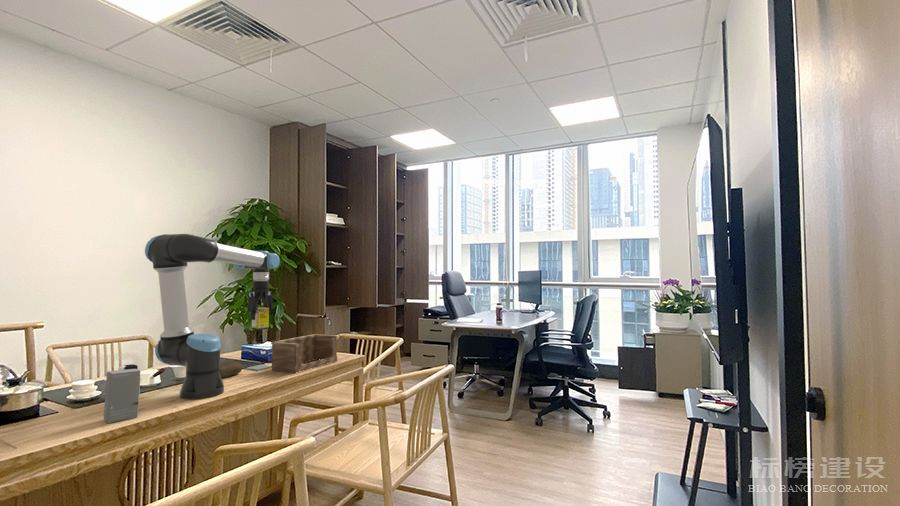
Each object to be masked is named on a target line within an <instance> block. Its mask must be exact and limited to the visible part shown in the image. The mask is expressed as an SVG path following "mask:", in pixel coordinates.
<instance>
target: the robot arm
mask: <svg viewBox="0 0 900 506" xmlns="http://www.w3.org/2000/svg"><path fill="white" fill-rule="evenodd" d="M144 247H145V248H144V255H145V257H146V258H147V260H148V261H149V262H151V263H152V267H153V270H154V271H156V272H157V273H158V281H159V283H158V284H159V290H160V291H159V293H160V301H161V312H162V322H163V332H161V334H160V336H159V337H160V339H159V340H158V342H157V344H156V345H155V348H154V352H155V353H154V354H155V357H156V359H158V361H159V362H160V363H163V364H165V365H169V366H179V367H185V378H184V380H183V383H182V385H181V388H180V390H179V397H180V399H183V400H201V399H206V398H213V397H216V396H218V395H219V396H220V395H221V394H223V393H224V392H225V385H224V382H223V380H222V379H223V378H221V376H220V372H219V370H220V364H221V347H222V346H221V345H222V344H221V339H220V337H219V336H218V335H216V334H211V333H195V332H194V331H195V330H194V329H193V328H191V327H190V325H189V316H188V315H189V314H188V313H189V312H188V304H187V293H186V283H185V281H186V280H185V274H184V273H185V269H186V268H188V263H198V262H199V263H201V262H202V263H212V262H220V263H226V264H232V265H233V267H234V268H236V269H238V270H252V272H253V273H252V280H253V281H252V288H253V290H252V291H251V292H248V293H247V296H248V301H247V313H249V314H250V320H251V327H252V326H257V313H256V310H257V308H258V307H259V304H260V303H259V302H260V301H262V304H263V308H269V313H271V312H272V311H273V310H274V303H273V295H274V292H273V291H270V290H269V288H270V281H269V280H270V270H272V269H273V270H275V269H276V268H278V267H279V265H280V261H281V259H280V257H279V255H278V254H276V253H274V252H269V251H268V250H252V249H246V248H242V247H238V246H233V245H227V244H223V243H218V242H217V241H216V240H214V239H210V238H206V237H202V236H198V235H194V234H190V233H175V234H173V233H172V234H169V233H168V234H167V233H166V234H160V235H155V236H153V237H151V238H150V239H149V240H148V241H147V242H146V244H145V246H144Z"/></svg>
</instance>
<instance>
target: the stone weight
mask: <svg viewBox="0 0 900 506" xmlns="http://www.w3.org/2000/svg"><path fill="white" fill-rule="evenodd" d="M242 367H243V366H242V364H241V363H240V362H237V361H229V362H224V363H223V362H222V363H220V370H219V372H220V376H221V379H223V378H224V377H225V378H229V377H232V376H235V375H238V374H240V373H241V372H242V370H243V368H242ZM225 378H224V379H225Z"/></svg>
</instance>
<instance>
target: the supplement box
mask: <svg viewBox="0 0 900 506" xmlns="http://www.w3.org/2000/svg"><path fill="white" fill-rule="evenodd" d="M256 313H257V326H252V325H251V330H256V331H261V330H268V329H269V328H270V326H269V323H270V322H269V321H270V312H269V308H264V306H263V307H260V306H259V307H257V310H256Z"/></svg>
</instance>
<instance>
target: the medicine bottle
mask: <svg viewBox="0 0 900 506" xmlns="http://www.w3.org/2000/svg"><path fill="white" fill-rule="evenodd" d="M138 367H139V366H138V365H137V364H135V363H134V364H124V365H121V366H119V367H118V369H117V370H126V369H138V370H139V368H138ZM140 392H141V385H140V386H139V396H140V394H141V393H140Z"/></svg>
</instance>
